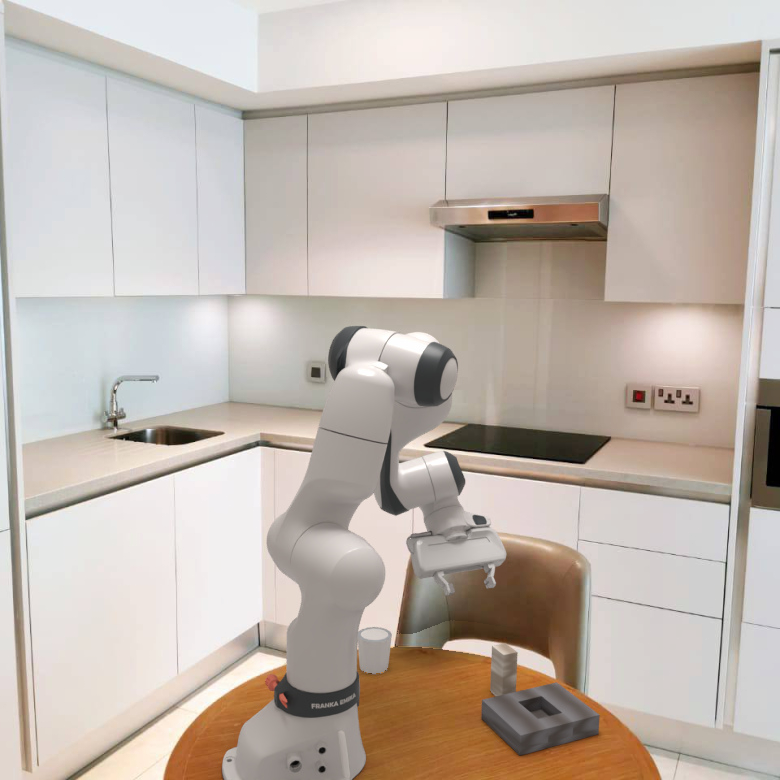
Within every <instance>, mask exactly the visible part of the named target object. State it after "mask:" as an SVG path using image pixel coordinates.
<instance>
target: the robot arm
mask: <svg viewBox="0 0 780 780" xmlns="http://www.w3.org/2000/svg"><path fill="white" fill-rule="evenodd" d="M327 363H328V364H327V365H328V369H329V373H330V376H331V378H332V380H333V381H334V382H333V383H332V386H331V388H330V391H329V394H328V395H327V398H326V401H325V404H324V406H323V410H322V413H321V416H320V419H319V424H318V426H317V431H316V435H315V438H314V442H313V447H312V450H311V454H310V458H309V462H308V465H307V467H306V468H307V469H306V472H305V475H304V477H303V480H302V482H301V485H300V486H299V488H298V491H296V494H295V496H294V498H293V500H292V501H291V503H290V505H289V506H288V508H287V509H286V511H285V512H283V513H281V514H280V515H279V516H278V517H277V518H276V519H275V520H274V521H273V522H272V524H271V525H270V527H269V529H268V532H267V535H266V549H267V552H268V554H269V556H270V558H271V559H272V561H273V563H274V565H276V567H277V568H278V570H279V571H280V572H281V573H282V574H284V575H285V577H286V576H287V578H288V579H290V580H291V581H293V582H295V584H297V585H298V587H299V591H300V593H301V594H300V595H301V601H300V606H299V611H298V615H297V617H296V618H294V619H293V620H292V621H291V622H290V623H289V625H288V626H287V631H286V671H285V672H284V675H283V677H282V679H280V680H279V679H278V676H277V675H276V674H273V673H270V674H268V675H267V676H266V678H265V680H264V682H265V685H266V687H267V689H268V690H269V691H270V692H273V699H272V700H270V702H269V703H267V704H266V705H265V706H264V707H263V708H261V709H260V710H259V711H258V712H257V713H256V714H254V715H253V716H252V717H250V719H248V720H246V721H245V722H244V724H243V725H242V727H241V729H240V732H239V734H238V740H237V744H236V746H235V747H232V748H231V749H228V750H226V752H225V754H224V756H223V758H222V766H221V773H222V778H223V780H353V779H355V777H356V776H358V775H359V774H360V772H361V771H362V770H363V768H364V767H365V765H366V761H367V760H366V759H367V756H366V752H365V748H364V745H363V741H362V737H361V729H360V722H359V711H358V707H359V706H360V697H361V696H360V695H361V682H360V674H359V672H358V632H359V631H360V629H359V628H360V624H361V621H362V617H363V614H364V611H365V609H366V608H367V607H369V606H370V605H371V604H373V602H374V601H376V599H377V598H378V596H379V595H380V594H381V592H382V589H383V588H384V584H385V581H386V567H385V562H384V559H383V558H382V556H381V555H380V554H379V553H378V552H377V551H376V549H375V548H374V547H373V546H372V545H371V544H370V543H369V542H368V541H367V540H366V539H365V538H364V537H363V536H361V535H359V534H357V533H355V532H353V531H351V530H350V529H349V527H350V523H351V520H352V518H353V516H354V514H355V513H356V512H357V509H358V508H359V507H360V505H361V504H362V502H364V501H365V500H368V499H369V498H370V497H371V496H374V498H375V501H376V504H377V505H378V507H379V508H380V510H381V511H383V512H385V513H387V514H389V515H391V516H392V515H393V516H395V517H397V516H399V515H402V514H403V513H406V512H409V511H410V510H413V509H416V508H419V509H420V510H421V512H422V516H423V523H424V526H425V528H426V531H422V532H415V533H411V534H410V535H409V536H408V537H407V539H406V541H405V544H406V546H407V550H408V552H409V553H410V558H411V564H412V568H413V569H412V570H413V572H414V575H415V576H416V577H418V579H428V578H433V580H434V582H435V584H437V585H438V586H439V587H440V588H441V589H443V593H444V595H445V596H446V597H447V596H452V595H454V594H455V592H456V590H455V588H454V584H453V582H452V583H451V582H450V583H449V582H448V581H447V580H446V579H445V578H444V576H446V575H451V574H457V573H463V572H469V571H471V572H472V571H476V570H481V569H482V570H484V573H485V574H486V573H487V577H486V578H485V579H484V581H483V582H484V585H485V587H486V589H493V588H495V587H496V586H497V585H496V584H497V582H496V580H495V578H494V576H495V573H496V572H495V571H496V567H500V566H502V564H503V563H504V562H505V561H506V558H507V556H508V555H507V551H506V548H505V545H504V544H503V542H502V539H501V537H500V536H499V533H498V532H497V531H496V530H495V529H494V528H493V527H491V525H492V521H491V518H490V517H489V516H488V515H483V514H477V513H473V512H470V511H466V510H465V509H464V507H463V505H462V504H461V503H460V501H459V498H458V497H459V496H460V495H461V494H462V492H463V490H464V488H465V485H466V478H465V476H464V473H463V470H462V469H461V465H460V464H459V461H458V458H457V456H455V455H453V453H450V452H448V451H446V450H439V451H435V452H432V453H428V454H424V455H422V456H419V457H417V458H416V457H415V458H412V459H409V460H406V461H403V462H400V452H401V451H402V450H403V449H404V448H405V447H406V446H407V445H409V444H410V443H411V442H413V441H414V440H416V439H418V438H420V437H422V436H423V435H425V434H428V433H429V432H432V431H433V430H435V429H436V428H438V427H439V426H440V425H441V424H442V423H444V421H445V420H446V419H447V418H448V416H449V414H450V411H451V408H452V404H453V392H454V389H455V387H456V384H457V381H458V371H459V363H458V359H457V356H455V353H453V351H452V349H451V348H449V347H447V346H446V345H443V344H441V343H440V342H439V340H438V339H437V338H435V337H434V336H433V335H431V334H429V333H426V332H423V331H414V332H408V333H405V334H403V333H402V332H400V331H396V330H388V329H381V328H369V327H367V326H365V325H352V326H351V325H350V326H346V327H344V328H342V329H341V330H340V331H339V332H338V333H337V334H336V335H335V336H334V337H333V339H332V340H331V343H330V347H329V349H328V357H327Z"/></svg>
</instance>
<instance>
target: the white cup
mask: <svg viewBox="0 0 780 780" xmlns="http://www.w3.org/2000/svg"><path fill="white" fill-rule="evenodd" d="M392 634H393V633H392V632H391V631H390V630H388V629H387V628H383V627H377V626H376V627H375V626H372V627H366V628H362V629H359V630H358V645H357V652H358V660H359V661H358V662H359V669H360V670H361V671H362V672H363V671H364V672H363V673H365V672H367V673H366V674H368V673H372V674H371V675H377V674H376V673H380V674H382V673H381V672H383V673H385V672H386V671H388V669H387V668H389V663H390V654H391V645H392V638H393V637H392V636H393V635H392ZM385 670H386V671H385ZM384 671H385V672H384Z"/></svg>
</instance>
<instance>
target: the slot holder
mask: <svg viewBox="0 0 780 780" xmlns="http://www.w3.org/2000/svg"><path fill="white" fill-rule="evenodd" d="M480 716H481V717H480V718H481V720H482V721H483V722H484V723H485V724H487V726H489V728H490V729H491V730H493V732H495V733H496V734H497V736H498V737H500V738H501V739H502V740H503V741H504V742H505V743H506V744H507V745H508V746H509V747H510V748H511V749H512V750H513V752H515V753H516V754H517V755H518V756H523V755H527V754H531V753H534V752H538V751H541V750H546V749H549V748H554V747H556V746H560V745H564V744H567V743H571V742H575V741H579V740H581V739H585V738H589V737H593V736H596V735H599V731H600V729H599V728H600V716H601V715H600V714H599V713H597V711H595V710H594V709H592V708H591V707H590V706H588V705H587V704H586V703H584V701H582V700H581V699H579V697H577V696H575V695H574V694H573V693H572V692H570V690H568V689H566V688H565V687H564V686H562V685H561V684H560V683H559V682H553V683H547V684H543V685H540V686H539V685H538V686H536V687H530V688H526V689H522V690H518V691H517V690H516V692H513V693H509V694H505V695H500V696H492V697H489V698H488V697H487V698H483V699H481V715H480Z"/></svg>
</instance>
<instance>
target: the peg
mask: <svg viewBox="0 0 780 780" xmlns="http://www.w3.org/2000/svg"><path fill="white" fill-rule="evenodd" d="M518 653H519V652H518V651H517V650H515V649H514V648H513V647H512V646H510V645H509V644H508V643H506V642H505V643H498V644H495V645H492V646H491V661H490V663H491V664H490V691H491V694H493V696H494V697H496V696H500V695H505V694H509V693H513V692H517V676H518V674H517V672H518ZM490 691H489V692H490Z"/></svg>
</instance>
